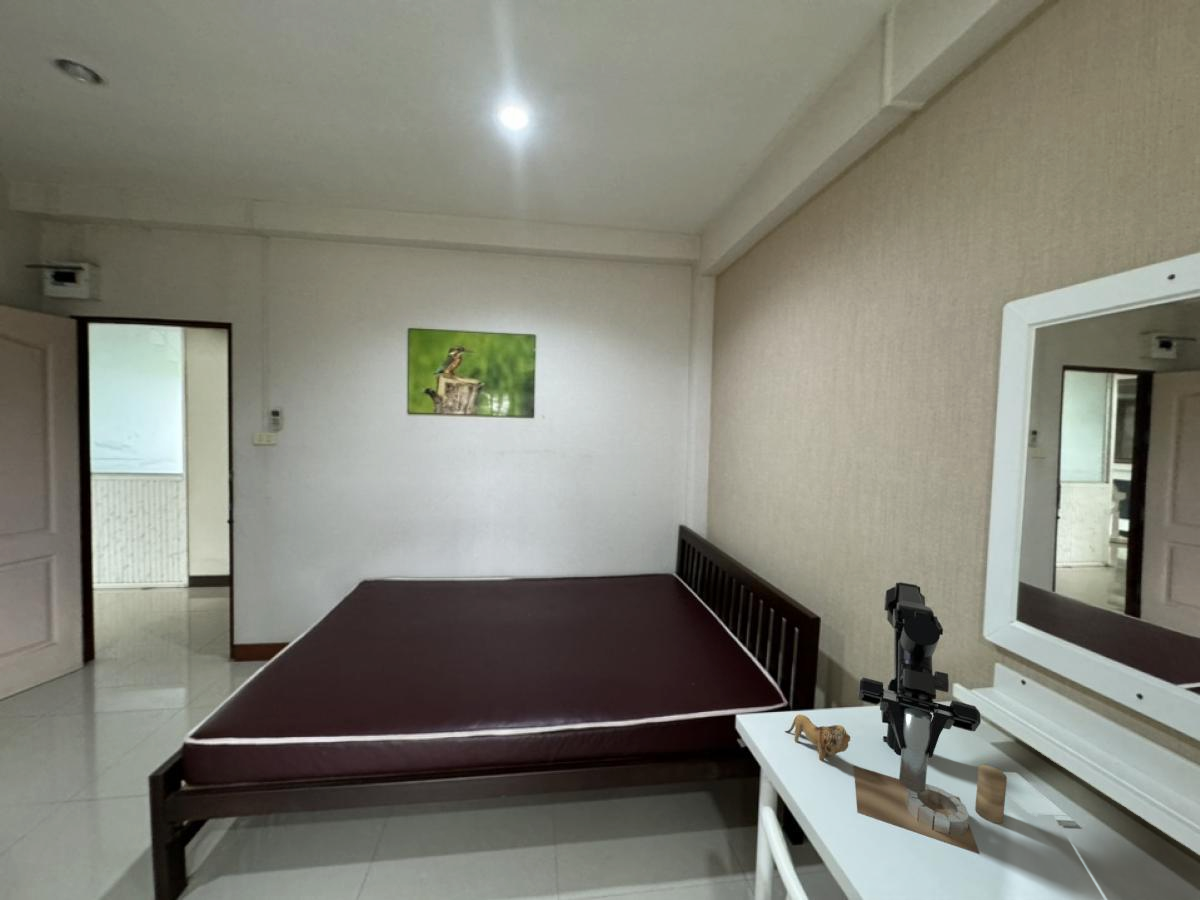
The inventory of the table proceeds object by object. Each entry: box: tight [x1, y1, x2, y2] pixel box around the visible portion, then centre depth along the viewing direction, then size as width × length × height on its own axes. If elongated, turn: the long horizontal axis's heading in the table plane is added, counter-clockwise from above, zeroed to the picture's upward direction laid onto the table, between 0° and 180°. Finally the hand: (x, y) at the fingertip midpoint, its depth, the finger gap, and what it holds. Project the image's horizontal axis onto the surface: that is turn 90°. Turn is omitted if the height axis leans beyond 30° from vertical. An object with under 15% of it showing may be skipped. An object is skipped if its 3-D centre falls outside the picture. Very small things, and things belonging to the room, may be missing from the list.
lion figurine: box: [784, 713, 851, 762], centre depth 105 cm, size 15×5×9 cm, turn 36°
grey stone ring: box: [906, 783, 970, 836], centre depth 88 cm, size 9×9×2 cm
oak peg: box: [974, 764, 1007, 825], centre depth 88 cm, size 4×4×9 cm
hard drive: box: [1002, 771, 1077, 827], centre depth 94 cm, size 2×8×12 cm
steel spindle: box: [898, 708, 932, 792], centre depth 87 cm, size 4×4×13 cm
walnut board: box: [853, 765, 981, 855], centre depth 90 cm, size 14×18×1 cm
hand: (915, 752), depth 86 cm, fingers closed on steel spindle, 4 cm apart
